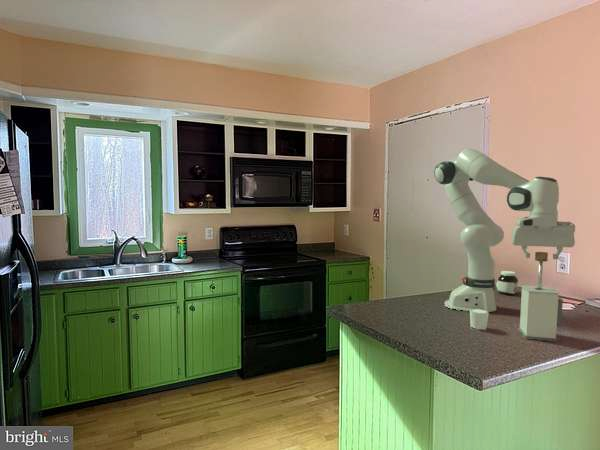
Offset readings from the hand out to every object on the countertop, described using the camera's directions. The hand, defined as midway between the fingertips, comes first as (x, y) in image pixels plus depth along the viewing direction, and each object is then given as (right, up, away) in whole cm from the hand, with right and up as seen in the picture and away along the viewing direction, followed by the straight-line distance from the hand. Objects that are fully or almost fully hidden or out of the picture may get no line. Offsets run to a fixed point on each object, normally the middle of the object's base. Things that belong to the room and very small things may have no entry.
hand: (541, 258), depth 153 cm
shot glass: (-19, -29, +10) cm, 36 cm away
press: (+1, -29, +2) cm, 29 cm away
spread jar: (+20, -24, +68) cm, 75 cm away
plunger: (0, -18, +1) cm, 18 cm away
